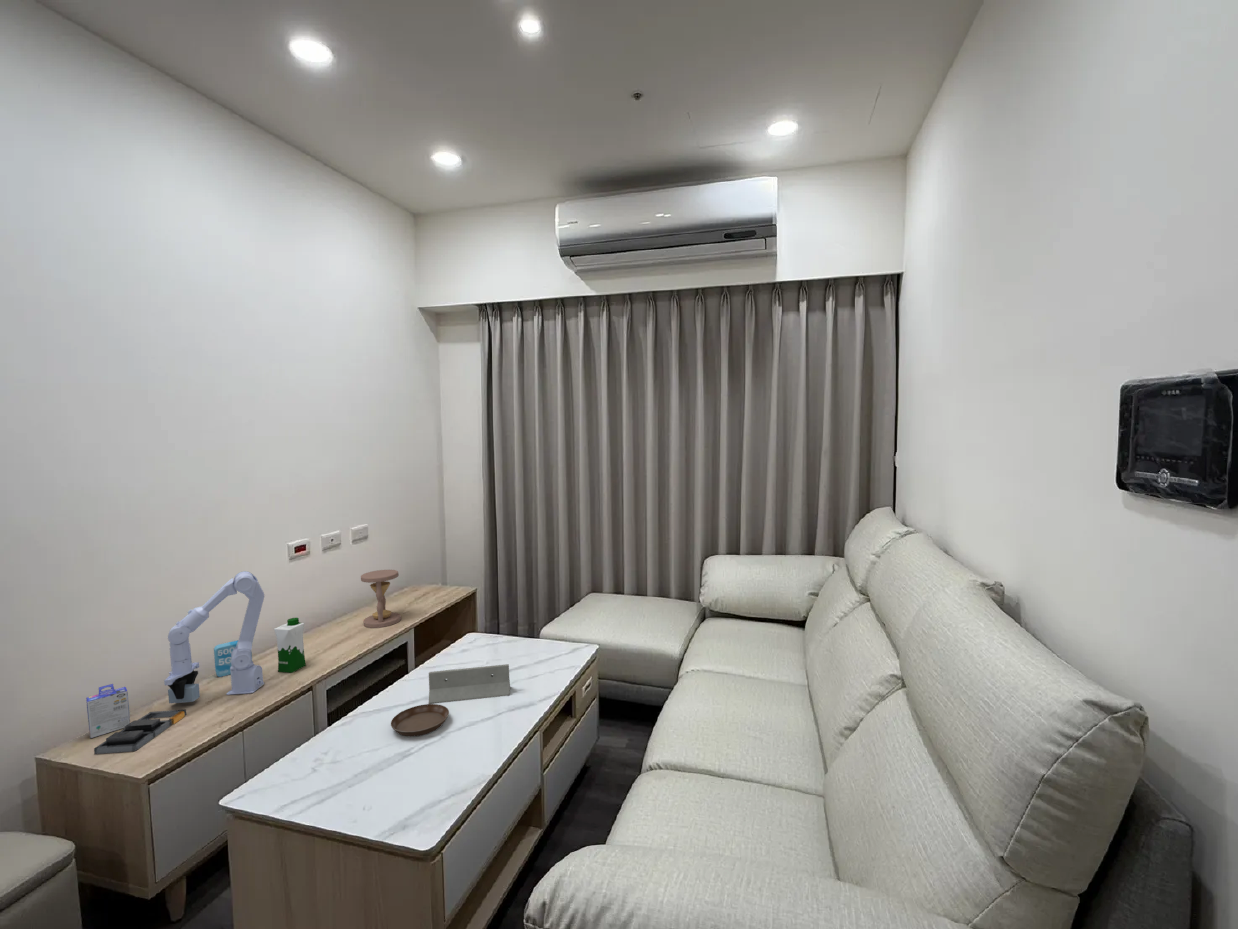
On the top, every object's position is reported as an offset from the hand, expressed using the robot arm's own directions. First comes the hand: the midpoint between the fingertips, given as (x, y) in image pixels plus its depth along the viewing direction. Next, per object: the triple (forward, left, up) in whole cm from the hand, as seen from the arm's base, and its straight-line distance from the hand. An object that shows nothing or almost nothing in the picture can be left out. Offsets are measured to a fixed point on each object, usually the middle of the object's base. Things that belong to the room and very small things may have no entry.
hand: (184, 695), depth 195 cm
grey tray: (0, +19, -3) cm, 19 cm away
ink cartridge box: (+13, +15, -3) cm, 20 cm away
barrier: (-102, +8, -4) cm, 103 cm away
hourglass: (-42, -79, -3) cm, 89 cm away
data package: (-1, -27, -3) cm, 27 cm away
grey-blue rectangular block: (0, 0, -2) cm, 2 cm away
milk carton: (-24, -26, -3) cm, 35 cm away
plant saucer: (-90, +27, -4) cm, 94 cm away
